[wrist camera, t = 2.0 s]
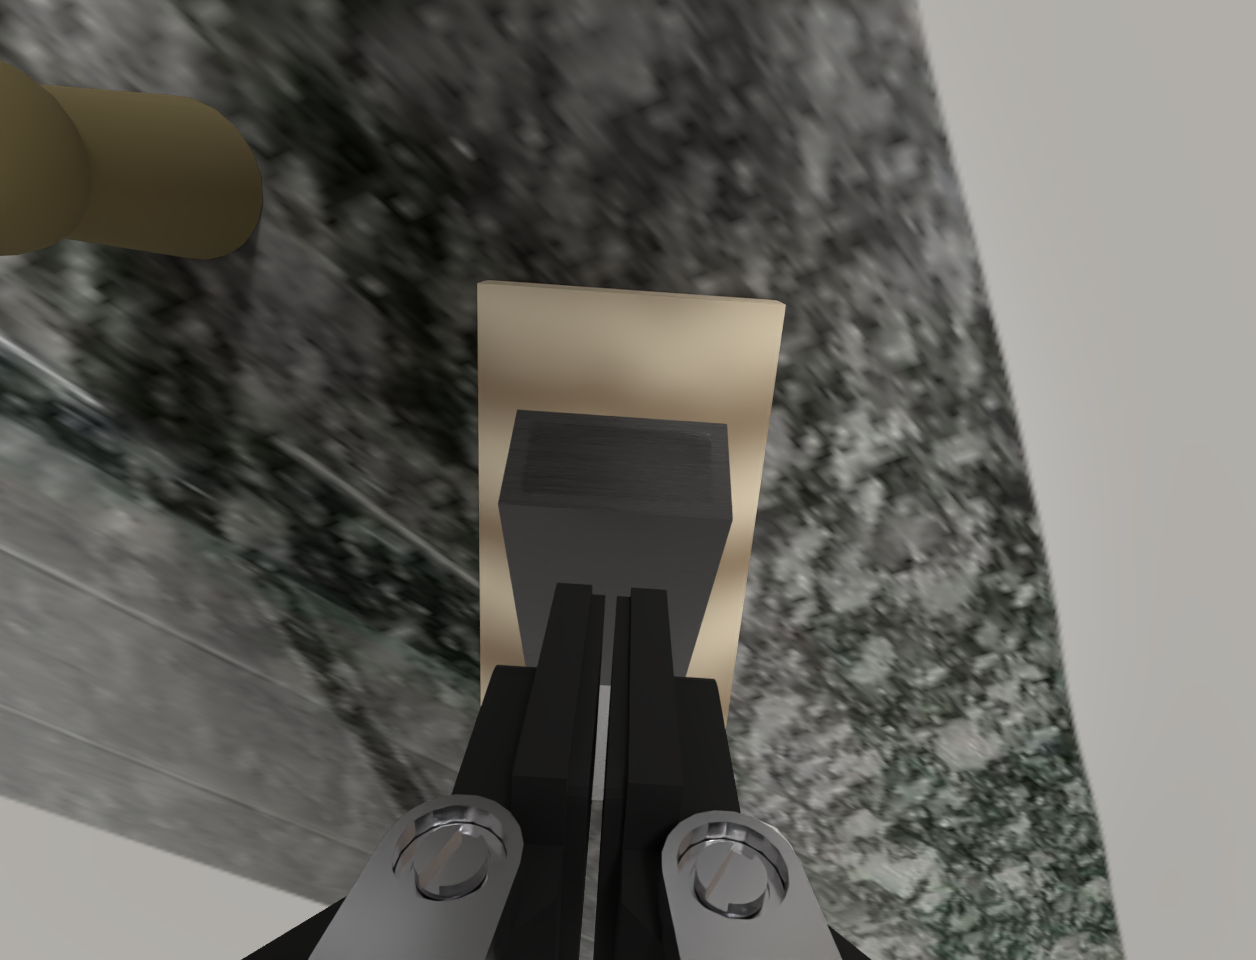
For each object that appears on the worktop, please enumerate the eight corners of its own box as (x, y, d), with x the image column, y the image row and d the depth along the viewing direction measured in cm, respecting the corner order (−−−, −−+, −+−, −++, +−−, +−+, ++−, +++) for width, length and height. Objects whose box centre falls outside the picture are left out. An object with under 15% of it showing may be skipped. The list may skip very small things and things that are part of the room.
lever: (532, 332, 13) (497, 504, 10) (722, 346, 13) (732, 519, 10) (560, 698, 28) (549, 804, 25) (648, 704, 28) (645, 810, 25)
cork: (277, 256, 28) (67, 269, 18) (134, 263, 28) (-158, 279, 18) (243, 90, 26) (-18, -6, 16) (88, 98, 26) (-272, 9, 16)
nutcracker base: (487, 279, 28) (395, 307, 17) (775, 299, 28) (861, 340, 17) (489, 699, 35) (423, 904, 24) (719, 714, 35) (755, 925, 25)
